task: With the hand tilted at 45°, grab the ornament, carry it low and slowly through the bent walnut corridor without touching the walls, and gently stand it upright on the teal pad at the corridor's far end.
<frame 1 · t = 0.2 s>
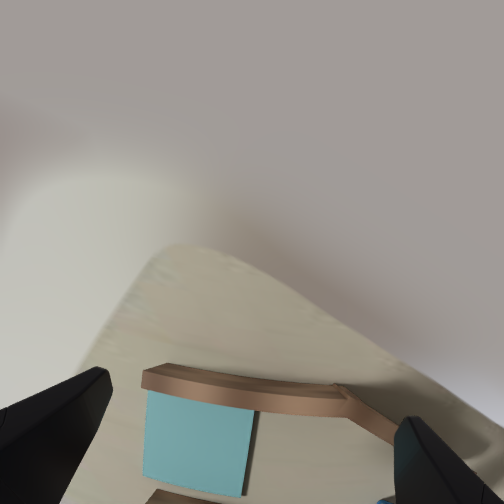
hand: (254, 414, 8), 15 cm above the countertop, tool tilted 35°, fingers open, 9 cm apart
ornament: (381, 501, 19), on the countertop
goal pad: (195, 446, 21), on the countertop
channel: (301, 460, 20), on the countertop
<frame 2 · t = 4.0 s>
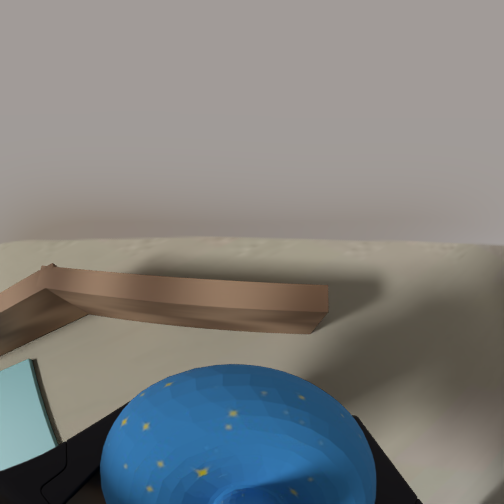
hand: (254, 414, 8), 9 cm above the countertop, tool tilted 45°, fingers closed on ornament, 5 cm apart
ornament: (252, 426, 15), on the countertop, touching gripper
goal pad: (11, 428, 14), on the countertop
channel: (96, 401, 15), on the countertop
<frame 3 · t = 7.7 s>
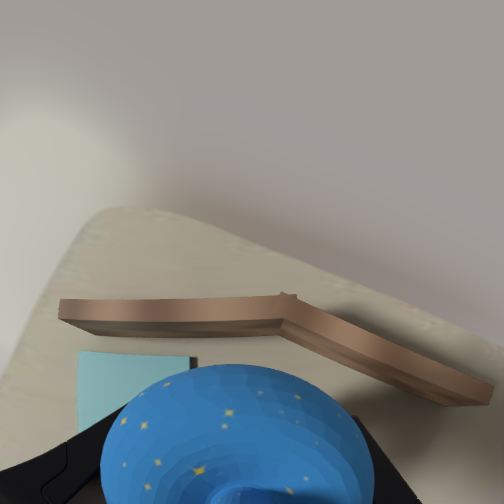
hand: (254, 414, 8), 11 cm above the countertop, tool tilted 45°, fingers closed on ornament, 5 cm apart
ornament: (255, 426, 15), point 2 cm above the countertop, touching gripper
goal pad: (131, 414, 18), on the countertop
channel: (259, 418, 18), on the countertop
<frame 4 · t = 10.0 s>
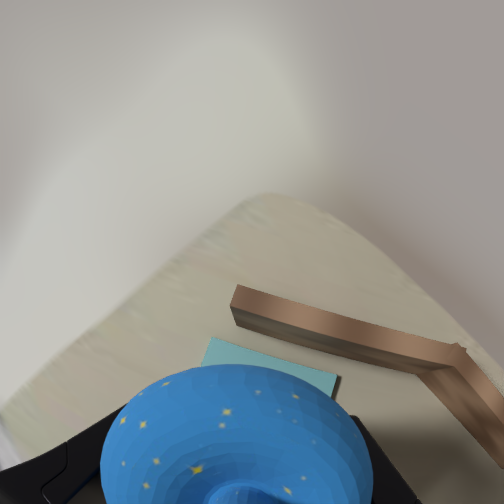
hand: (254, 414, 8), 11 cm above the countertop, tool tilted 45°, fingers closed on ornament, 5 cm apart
ornament: (257, 426, 15), point 2 cm above the countertop, touching gripper
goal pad: (253, 418, 17), on the countertop
channel: (376, 446, 16), on the countertop
when the fingers open (9 cm above the countertop, at t = 11.7 s): ornament stays where it is, resting on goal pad.
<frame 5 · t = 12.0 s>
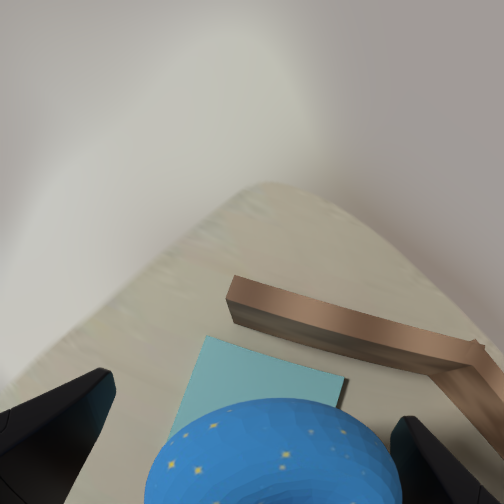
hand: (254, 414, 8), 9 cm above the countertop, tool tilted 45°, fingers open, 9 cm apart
ornament: (256, 429, 15), resting on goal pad
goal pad: (252, 425, 16), on the countertop
channel: (386, 454, 14), on the countertop
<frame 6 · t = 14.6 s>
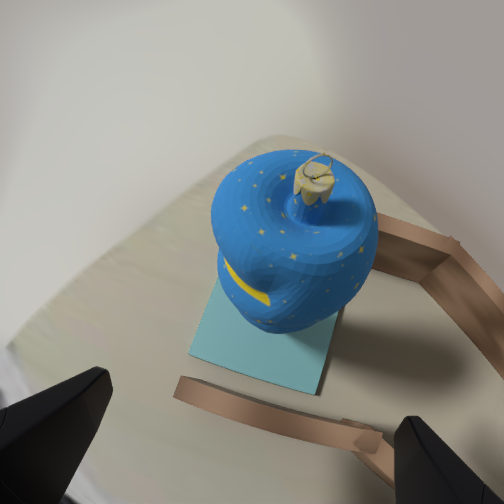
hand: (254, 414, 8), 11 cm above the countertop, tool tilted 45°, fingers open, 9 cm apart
ornament: (275, 319, 20), resting on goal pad
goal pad: (271, 316, 20), on the countertop
channel: (388, 349, 19), on the countertop
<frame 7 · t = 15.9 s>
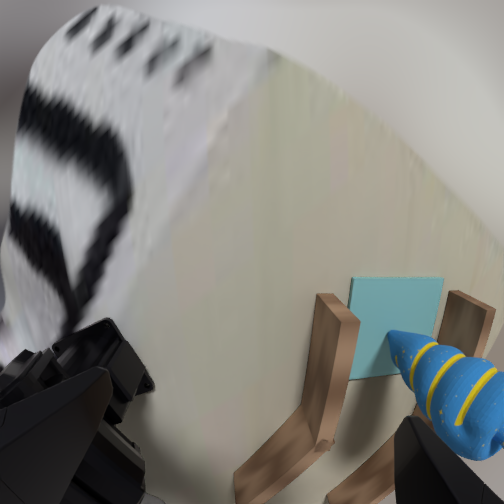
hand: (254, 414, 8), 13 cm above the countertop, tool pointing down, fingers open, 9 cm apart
ornament: (390, 333, 22), resting on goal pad
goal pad: (391, 328, 22), on the countertop
channel: (369, 411, 24), on the countertop
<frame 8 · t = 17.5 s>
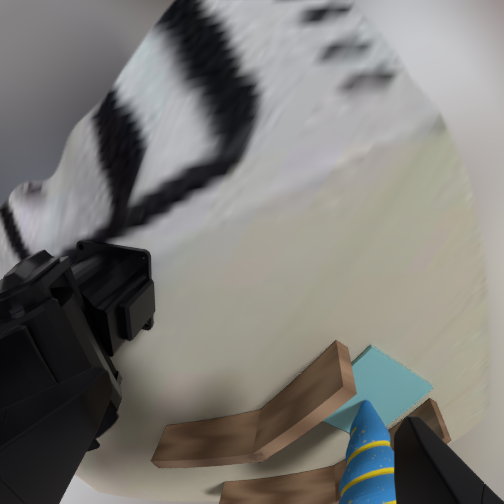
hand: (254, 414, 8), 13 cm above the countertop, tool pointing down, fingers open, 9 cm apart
ornament: (365, 401, 23), resting on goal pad
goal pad: (368, 398, 23), on the countertop
channel: (305, 444, 26), on the countertop
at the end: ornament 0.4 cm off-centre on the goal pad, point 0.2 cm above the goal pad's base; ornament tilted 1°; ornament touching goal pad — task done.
